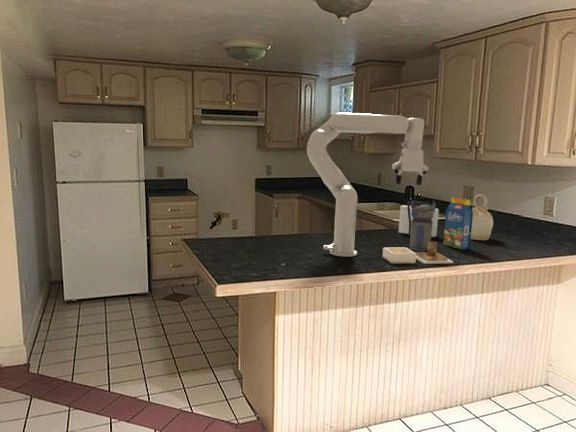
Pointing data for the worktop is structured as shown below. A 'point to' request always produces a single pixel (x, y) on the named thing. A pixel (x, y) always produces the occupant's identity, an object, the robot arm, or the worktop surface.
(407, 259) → the dish
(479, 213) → the jug
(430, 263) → the box
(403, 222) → the skincare box
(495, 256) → the worktop surface
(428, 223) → the beverage bottle
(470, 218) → the blue food package
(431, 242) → the lid
